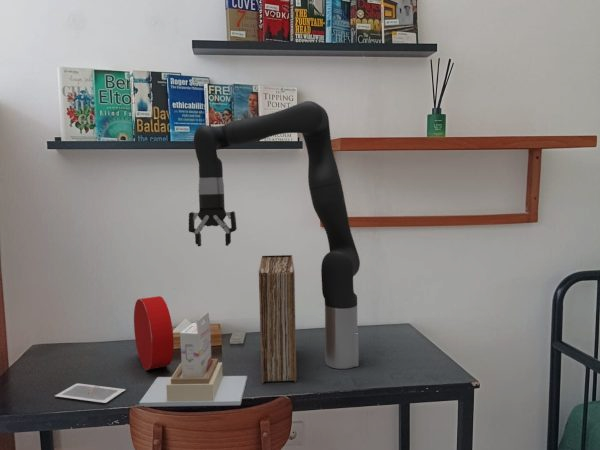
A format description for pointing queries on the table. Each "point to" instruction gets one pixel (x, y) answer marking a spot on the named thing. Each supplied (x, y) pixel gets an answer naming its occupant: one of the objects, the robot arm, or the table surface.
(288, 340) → the book
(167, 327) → the toy clock
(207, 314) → the ink cartridge box
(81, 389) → the touchpad
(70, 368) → the table surface
